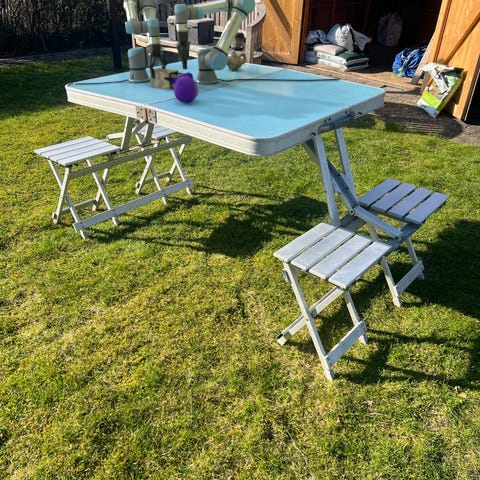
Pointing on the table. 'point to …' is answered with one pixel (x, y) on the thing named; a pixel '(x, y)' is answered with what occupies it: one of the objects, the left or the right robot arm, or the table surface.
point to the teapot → (236, 61)
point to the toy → (184, 87)
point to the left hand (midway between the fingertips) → (158, 77)
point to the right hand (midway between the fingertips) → (185, 69)
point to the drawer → (176, 75)
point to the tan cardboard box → (162, 78)
